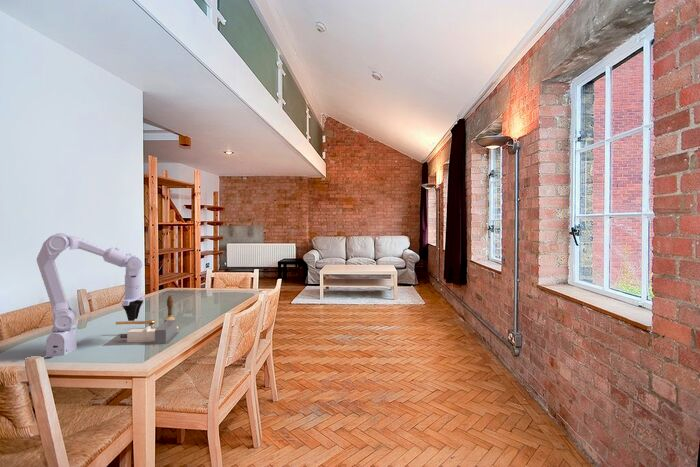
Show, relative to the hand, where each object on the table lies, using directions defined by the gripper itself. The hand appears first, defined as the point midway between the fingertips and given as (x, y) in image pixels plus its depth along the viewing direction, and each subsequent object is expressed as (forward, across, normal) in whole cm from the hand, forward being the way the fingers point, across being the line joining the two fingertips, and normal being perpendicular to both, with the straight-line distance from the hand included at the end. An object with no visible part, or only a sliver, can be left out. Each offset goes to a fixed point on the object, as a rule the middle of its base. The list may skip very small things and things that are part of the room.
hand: (132, 319), depth 150 cm
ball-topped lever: (+4, +9, +2) cm, 10 cm away
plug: (+9, 0, -4) cm, 10 cm away
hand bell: (+10, +17, -9) cm, 22 cm away
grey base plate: (+9, +2, -3) cm, 10 cm away
